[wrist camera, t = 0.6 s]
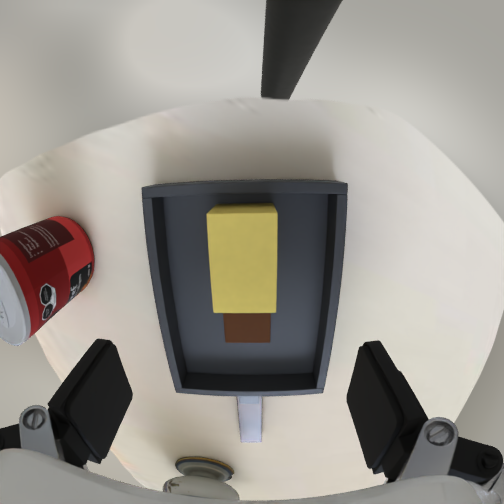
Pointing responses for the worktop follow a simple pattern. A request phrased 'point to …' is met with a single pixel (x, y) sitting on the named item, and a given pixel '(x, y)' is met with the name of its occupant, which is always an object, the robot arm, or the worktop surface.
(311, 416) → the worktop surface
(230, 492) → the apothecary jar
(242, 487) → the worktop surface
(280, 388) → the pan
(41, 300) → the canned food
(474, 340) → the worktop surface
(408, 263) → the worktop surface
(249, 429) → the pan handle
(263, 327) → the plate
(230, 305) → the sponge
